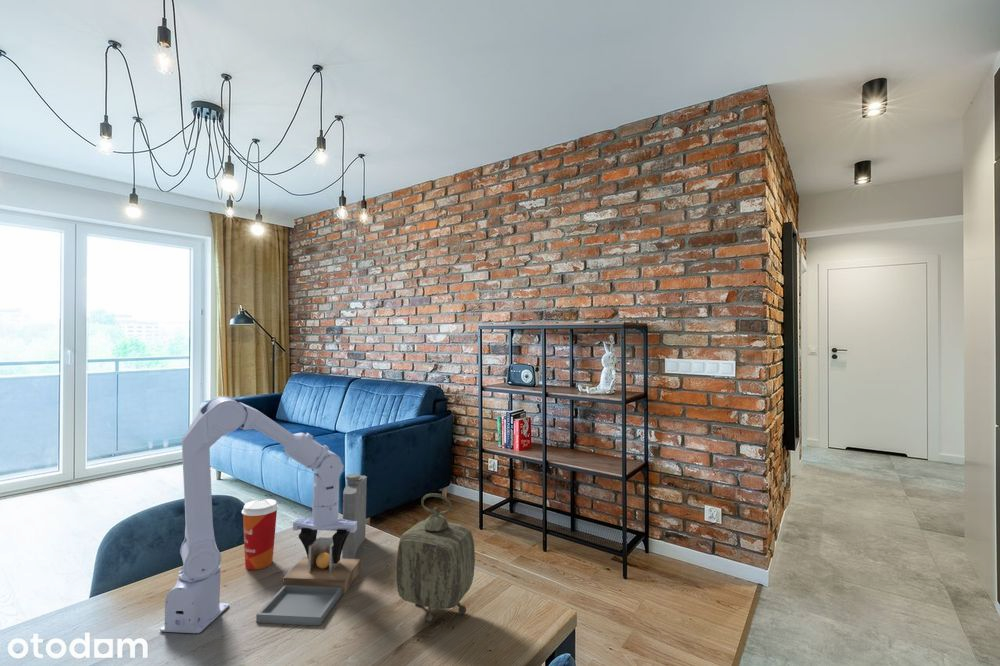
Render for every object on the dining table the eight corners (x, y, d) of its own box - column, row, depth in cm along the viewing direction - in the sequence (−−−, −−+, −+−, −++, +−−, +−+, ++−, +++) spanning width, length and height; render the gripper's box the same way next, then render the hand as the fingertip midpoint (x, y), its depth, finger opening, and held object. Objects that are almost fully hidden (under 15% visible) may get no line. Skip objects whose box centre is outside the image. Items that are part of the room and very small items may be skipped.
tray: (320, 625, 93) (320, 617, 93) (256, 622, 94) (256, 614, 94) (341, 594, 104) (342, 587, 105) (284, 592, 105) (284, 584, 105)
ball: (327, 571, 109) (328, 556, 109) (313, 571, 109) (313, 556, 109) (333, 564, 112) (334, 550, 112) (319, 563, 112) (320, 549, 112)
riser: (344, 594, 105) (344, 580, 105) (282, 591, 105) (283, 577, 105) (359, 571, 115) (360, 559, 115) (303, 569, 115) (303, 556, 115)
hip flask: (353, 563, 119) (355, 484, 119) (336, 564, 118) (338, 484, 119) (366, 537, 135) (367, 466, 135) (351, 537, 134) (353, 466, 134)
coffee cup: (241, 559, 119) (242, 500, 120) (277, 554, 123) (278, 496, 123) (238, 575, 112) (240, 511, 112) (277, 568, 115) (278, 507, 115)
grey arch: (331, 572, 108) (331, 546, 108) (308, 571, 108) (308, 545, 108) (339, 562, 113) (340, 537, 113) (317, 561, 113) (318, 536, 113)
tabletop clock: (474, 611, 99) (476, 492, 99) (455, 636, 91) (458, 506, 91) (413, 597, 104) (416, 483, 104) (390, 620, 96) (393, 496, 96)
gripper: (361, 498, 114) (360, 554, 114) (303, 496, 115) (301, 552, 115) (351, 508, 107) (350, 568, 107) (289, 506, 108) (287, 566, 108)
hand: (324, 561), depth 111 cm, fingers closed on grey arch, 5 cm apart
